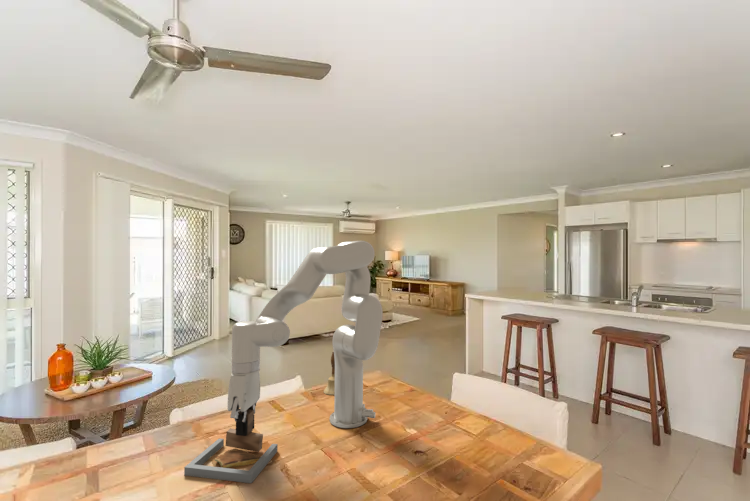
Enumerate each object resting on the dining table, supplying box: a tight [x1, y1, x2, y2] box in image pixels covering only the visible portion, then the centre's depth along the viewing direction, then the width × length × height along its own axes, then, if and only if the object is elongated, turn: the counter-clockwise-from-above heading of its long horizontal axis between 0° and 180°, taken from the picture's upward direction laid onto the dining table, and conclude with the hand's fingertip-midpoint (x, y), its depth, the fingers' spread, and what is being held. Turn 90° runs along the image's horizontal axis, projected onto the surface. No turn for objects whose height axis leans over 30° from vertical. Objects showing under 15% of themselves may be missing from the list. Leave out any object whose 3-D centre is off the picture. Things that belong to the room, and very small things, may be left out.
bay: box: [183, 438, 279, 484], centre depth 95 cm, size 18×14×2 cm
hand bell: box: [323, 351, 335, 396], centre depth 146 cm, size 8×8×16 cm
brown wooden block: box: [225, 409, 264, 453], centre depth 101 cm, size 10×3×10 cm, turn 80°
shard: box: [214, 448, 261, 469], centre depth 95 cm, size 11×8×2 cm
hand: (245, 431), depth 101 cm, fingers closed on brown wooden block, 3 cm apart
